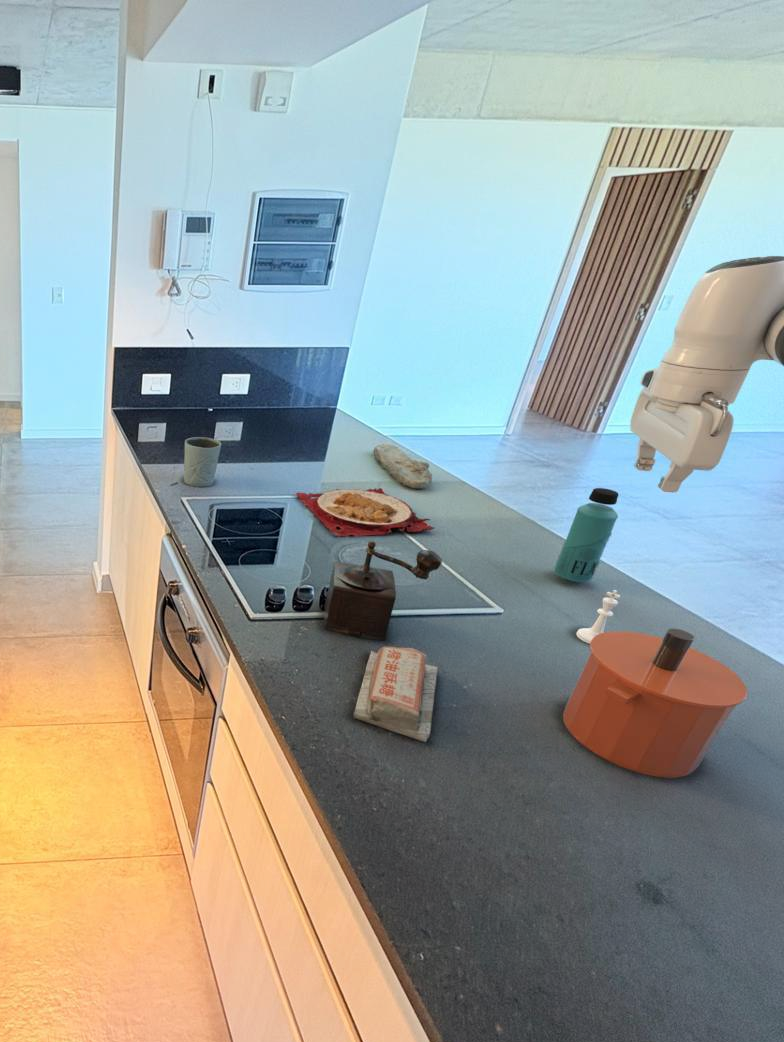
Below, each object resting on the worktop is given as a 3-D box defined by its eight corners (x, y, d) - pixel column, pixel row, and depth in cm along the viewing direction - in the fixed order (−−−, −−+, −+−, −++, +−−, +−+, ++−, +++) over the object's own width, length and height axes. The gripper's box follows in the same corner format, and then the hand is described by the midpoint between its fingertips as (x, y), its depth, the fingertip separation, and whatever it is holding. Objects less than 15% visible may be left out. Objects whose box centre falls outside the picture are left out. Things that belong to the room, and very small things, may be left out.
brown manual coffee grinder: (322, 632, 111) (341, 543, 103) (324, 601, 121) (341, 518, 112) (418, 651, 106) (446, 559, 98) (412, 617, 115) (437, 531, 107)
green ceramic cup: (181, 474, 184) (184, 436, 179) (215, 476, 183) (219, 437, 178) (182, 487, 175) (185, 447, 170) (218, 488, 174) (222, 448, 169)
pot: (728, 750, 85) (774, 679, 79) (646, 800, 78) (690, 726, 72) (608, 687, 97) (641, 621, 91) (528, 726, 90) (558, 657, 84)
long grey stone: (396, 456, 201) (364, 456, 202) (399, 440, 199) (366, 441, 200) (440, 490, 169) (401, 491, 171) (444, 472, 167) (404, 472, 169)
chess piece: (607, 651, 105) (630, 601, 101) (572, 638, 109) (593, 590, 104) (613, 639, 108) (636, 591, 104) (579, 627, 112) (600, 580, 107)
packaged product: (436, 719, 84) (358, 694, 89) (427, 745, 87) (352, 720, 91) (443, 650, 98) (375, 632, 103) (435, 674, 100) (369, 655, 105)
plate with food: (379, 494, 169) (382, 483, 168) (433, 533, 146) (437, 519, 145) (294, 498, 169) (296, 486, 167) (334, 537, 146) (337, 523, 144)
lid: (768, 690, 79) (793, 651, 76) (703, 727, 73) (727, 686, 70) (627, 627, 91) (644, 592, 89) (562, 654, 86) (578, 617, 83)
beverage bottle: (560, 587, 124) (598, 496, 115) (543, 571, 130) (577, 483, 121) (597, 590, 123) (637, 498, 114) (577, 574, 129) (614, 485, 120)
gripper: (765, 405, 75) (714, 508, 81) (692, 373, 92) (654, 461, 98) (699, 400, 78) (654, 501, 84) (639, 370, 94) (605, 456, 100)
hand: (653, 479), depth 91 cm, fingers open, 8 cm apart
